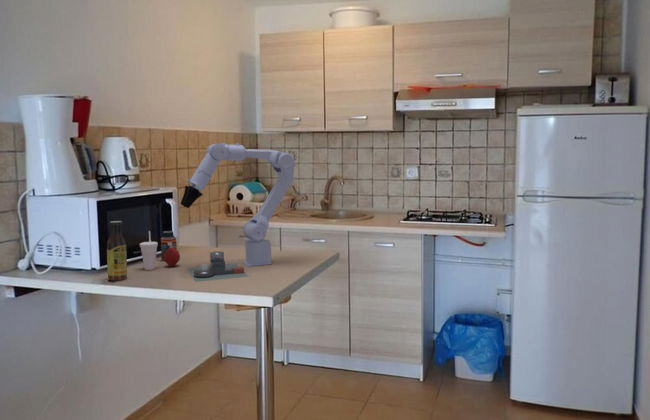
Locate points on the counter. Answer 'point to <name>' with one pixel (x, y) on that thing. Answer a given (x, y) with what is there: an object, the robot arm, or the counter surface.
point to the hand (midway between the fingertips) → (184, 206)
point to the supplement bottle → (167, 242)
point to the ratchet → (216, 271)
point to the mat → (216, 277)
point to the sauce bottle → (116, 253)
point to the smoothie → (149, 253)
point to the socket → (217, 260)
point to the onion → (171, 256)
